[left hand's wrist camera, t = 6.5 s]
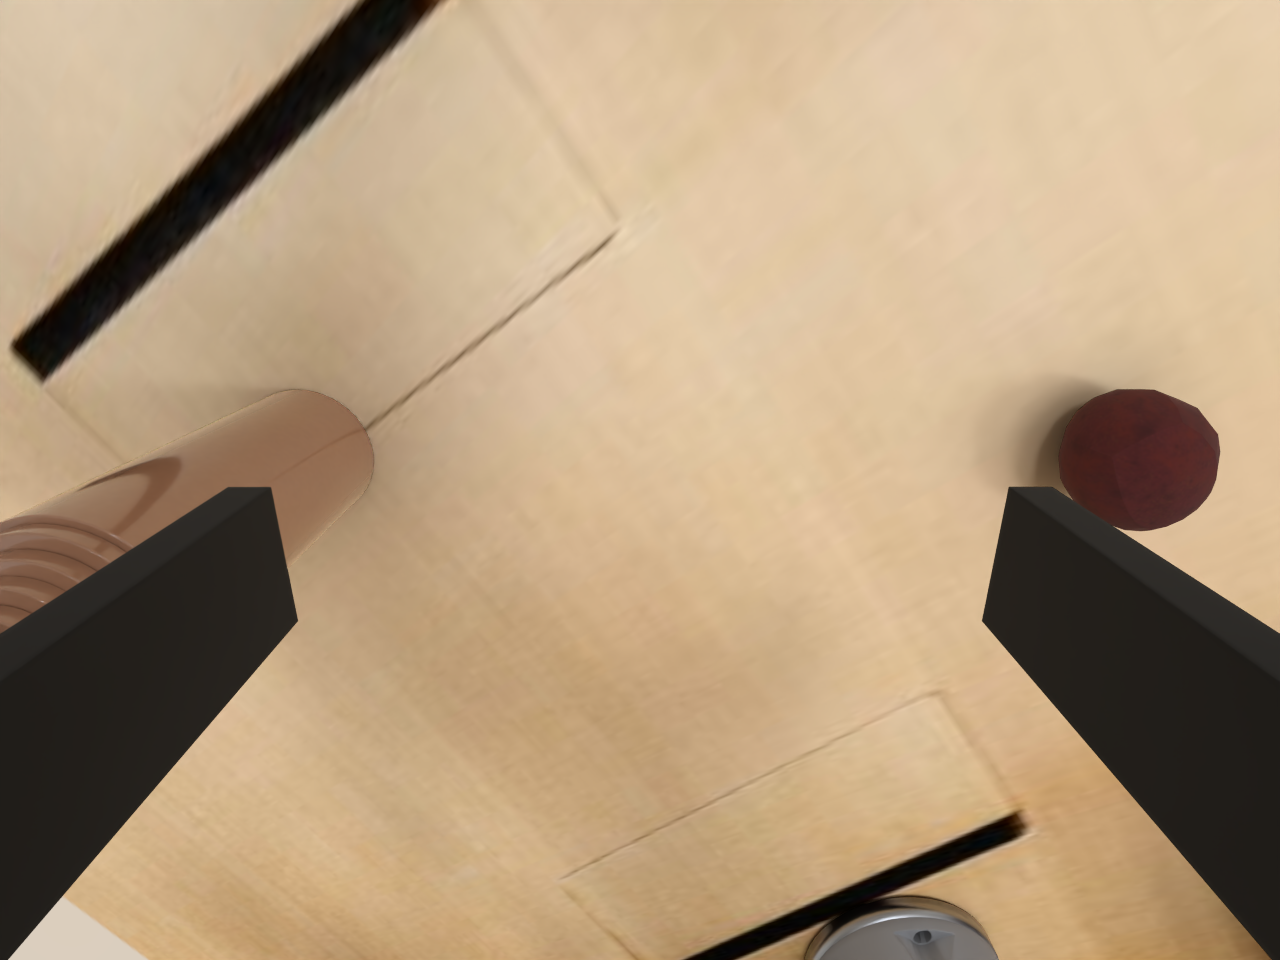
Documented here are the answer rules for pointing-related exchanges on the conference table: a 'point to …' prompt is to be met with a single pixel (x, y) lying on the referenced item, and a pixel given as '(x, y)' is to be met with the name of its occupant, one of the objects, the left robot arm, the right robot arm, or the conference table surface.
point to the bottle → (191, 494)
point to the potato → (1139, 458)
